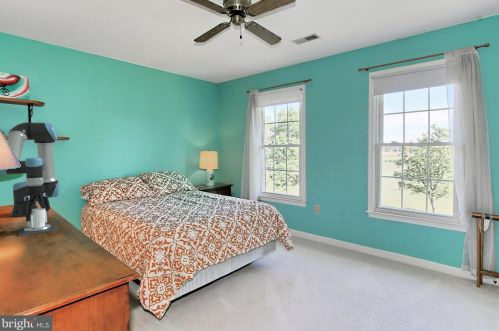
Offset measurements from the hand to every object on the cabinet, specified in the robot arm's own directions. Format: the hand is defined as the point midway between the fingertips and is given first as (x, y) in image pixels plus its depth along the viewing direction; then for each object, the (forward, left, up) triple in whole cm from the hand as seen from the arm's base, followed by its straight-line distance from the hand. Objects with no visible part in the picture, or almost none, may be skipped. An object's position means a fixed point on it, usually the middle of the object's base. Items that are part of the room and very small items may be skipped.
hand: (37, 224), depth 154 cm
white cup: (0, 0, -2) cm, 2 cm away
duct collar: (0, 0, -3) cm, 3 cm away
